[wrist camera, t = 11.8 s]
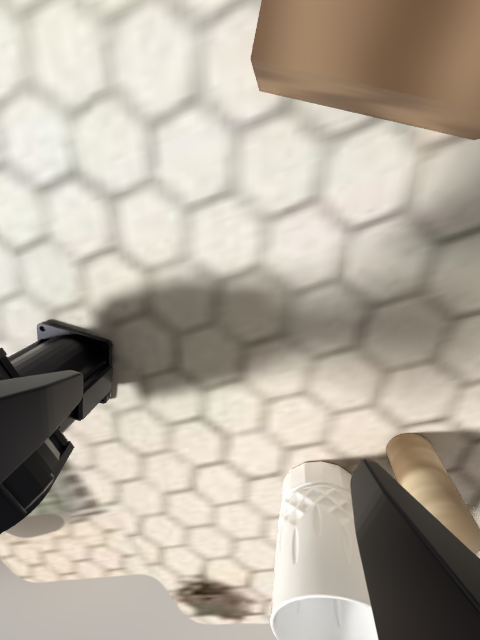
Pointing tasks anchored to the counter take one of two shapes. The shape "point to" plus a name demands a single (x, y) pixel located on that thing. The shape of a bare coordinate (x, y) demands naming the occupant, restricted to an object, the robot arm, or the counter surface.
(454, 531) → the short oak dowel
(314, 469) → the white cup
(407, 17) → the walnut socket block
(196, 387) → the counter surface
